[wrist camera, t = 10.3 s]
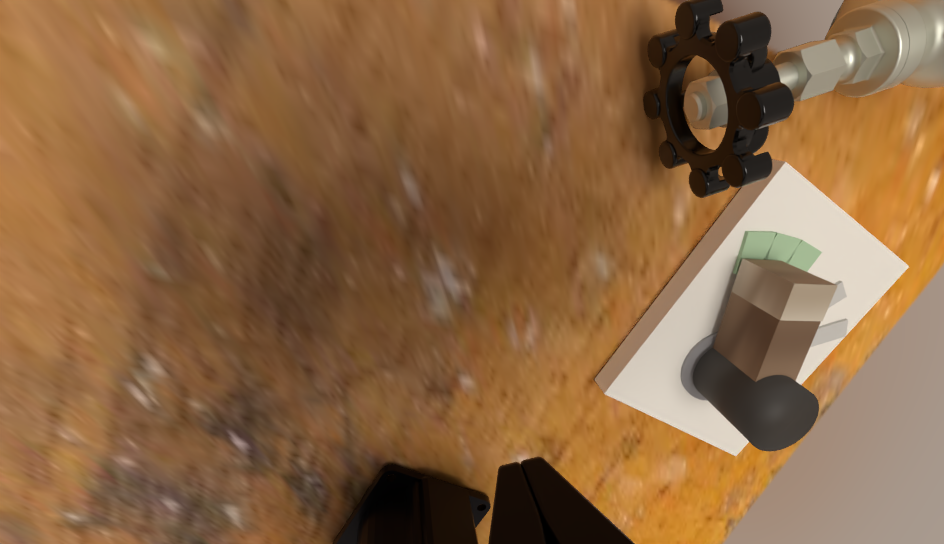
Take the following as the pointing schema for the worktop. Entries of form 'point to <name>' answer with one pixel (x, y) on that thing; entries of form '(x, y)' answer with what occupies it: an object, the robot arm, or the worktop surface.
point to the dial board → (709, 288)
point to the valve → (779, 77)
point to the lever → (766, 353)
